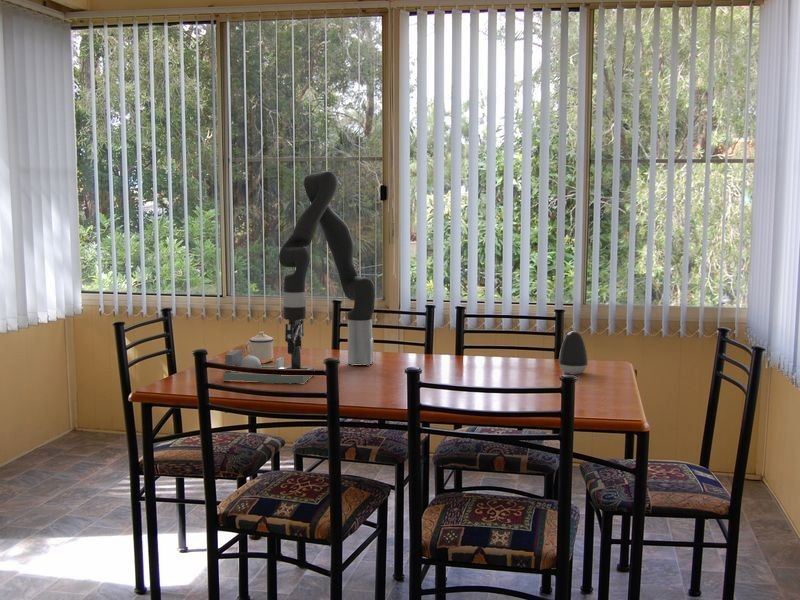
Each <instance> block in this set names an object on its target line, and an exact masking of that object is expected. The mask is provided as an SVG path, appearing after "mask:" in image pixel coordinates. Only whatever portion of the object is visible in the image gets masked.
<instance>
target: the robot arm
mask: <svg viewBox="0 0 800 600" xmlns="http://www.w3.org/2000/svg"><path fill="white" fill-rule="evenodd" d="M303 186H304V191H305V193H306V195H307V198H308V200H309V203H310V205H309V206H308V207H307V208H306V209H305V210H304V211H303V212H302V214H300V216H299V218H297V221H296V224H295V227H294V228H293V232H292V234H291V235H290V237H288V239H287V240H286V242H285V243H284V244H283V246H282V247H281V249H280V250H279V254H278V260H279V264H280V265H281V266H282V267H284V268H295V269H294V270H295V271H294V272H293V273H291V274H287V275H285V276H284V279H283V280H284V283H283V284H284V285H283V286H284V287H283V288H284V290H283V292H284V294H283V319H284V320H288V323H286V324H285V325H284V326H285V333H284V335H285V338H284V340H285V342H286V343H287V353H288V355H291V354H294V353H295V346H300V349H301V350H302V339H303V337H304V336H305V335H304V320H305V319H306V318H307V317H306V316H307V315H306V313H307V312H306V307H307V305H306V304H307V303H306V299H307V298H306V291H305V290H306V289H305V288H306V286H305V285H306V282H305V281H306V278H307V274H308V269H309V267H310V266H309V265H310V262H311V255H310V252H309V250H308V249H307V248H306V247H308V246H310V244H311V243H312V241H313V238H314V235H315V233H316V230H317V227H318V225H319V224H320V226H321V229H322V231H323V234H324V237H325V240H326V243H327V246H328V248H329V250H330V253H331V256H332V258H333V262H334V264H335V266H336V269H337V272H338V275H339V276H338V277H339V280H340V284H341V287H342V292H343V294H344V296H345V297H346V298H347V299H348V300H350V301H353V302H354V303H353V308H352V309H351V310H349V311H348V312H347V364H348V363H349V364H362V365H363V364H371V363H372V362H373V363H374V338H373V314H374V311H375V299H376V298H375V297H376V289H375V284H374V282H373V280H372V279H371V278H369V277H365V276H359V274H358V272H357V269H356V268H355V264H354V253H355V251H354V250H355V243H354V240H353V236H352V233H351V230H350V228H349V226H348V224H347V223H346V222H345V221H344V220H343V219H342V218H341V217H340V215H338V214H337V213H336V212H335V211H334V210H333V209H332V208H331V205H330V203H331V202H332V200H333V198H334V196H335V195H336V193H337V192H338V191H337V190H338V188H339V181H338V178H337V175H336V174H335V173H333V171H330V170H324V171H323V170H322V171H318V172H313V173H309V174H306V175H305V178H304V181H303ZM373 363H372V364H373ZM349 364H348V365H349Z"/></svg>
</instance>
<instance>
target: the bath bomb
mask: <svg viewBox="0 0 800 600" xmlns="http://www.w3.org/2000/svg"><path fill="white" fill-rule="evenodd" d="M239 366H243V367H253V368H262V366H263V365H262V364H261V362H260V360H259V359H258V358H257V357H255V356H251V355H247V356H243V358H242V359H241V361H240V363H239Z"/></svg>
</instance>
